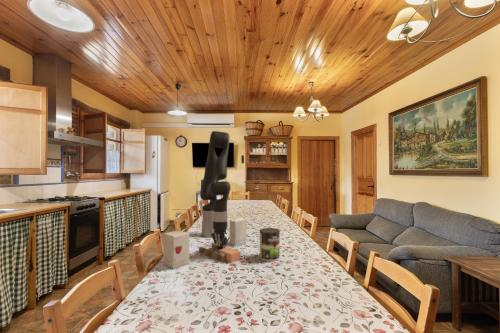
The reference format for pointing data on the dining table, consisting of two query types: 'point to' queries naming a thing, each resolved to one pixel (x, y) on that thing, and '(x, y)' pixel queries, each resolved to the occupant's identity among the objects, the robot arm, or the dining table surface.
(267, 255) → the coffee can
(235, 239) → the skincare box
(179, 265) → the supplement box
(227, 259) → the terracotta block
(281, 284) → the dining table surface
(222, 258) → the walnut chute
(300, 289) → the dining table surface
